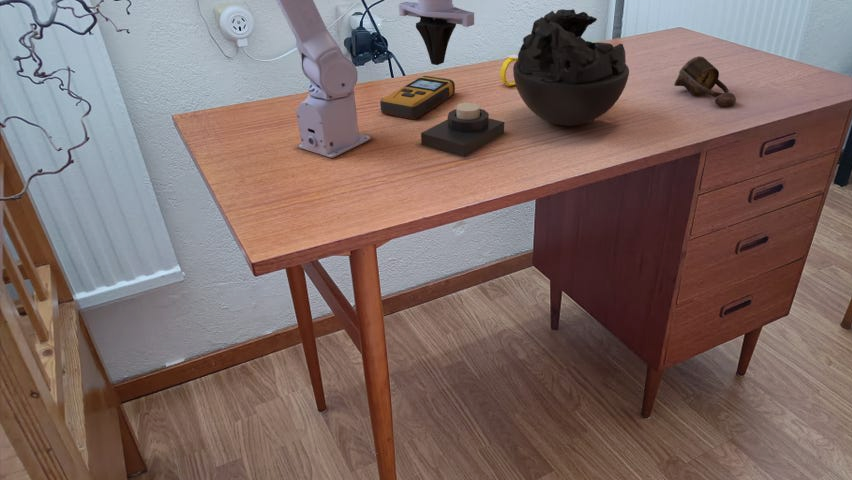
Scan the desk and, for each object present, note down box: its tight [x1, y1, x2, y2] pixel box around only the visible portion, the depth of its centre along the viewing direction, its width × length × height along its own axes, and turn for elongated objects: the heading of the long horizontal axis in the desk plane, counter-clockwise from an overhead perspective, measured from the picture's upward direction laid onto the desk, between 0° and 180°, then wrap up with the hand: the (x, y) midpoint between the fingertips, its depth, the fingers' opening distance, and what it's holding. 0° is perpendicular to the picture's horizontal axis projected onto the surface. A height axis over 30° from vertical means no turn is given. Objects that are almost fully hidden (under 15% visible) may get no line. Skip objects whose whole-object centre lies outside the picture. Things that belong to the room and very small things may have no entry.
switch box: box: [420, 108, 505, 158], centre depth 112 cm, size 12×9×4 cm
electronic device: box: [379, 75, 456, 120], centre depth 126 cm, size 8×16×3 cm, turn 154°
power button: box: [455, 102, 481, 120], centre depth 112 cm, size 4×4×2 cm
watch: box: [499, 54, 518, 87], centre depth 135 cm, size 6×3×6 cm, turn 128°
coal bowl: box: [512, 8, 630, 127], centre depth 114 cm, size 20×20×19 cm
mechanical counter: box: [673, 55, 737, 108], centre depth 128 cm, size 7×13×10 cm
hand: (437, 63), depth 115 cm, fingers closed
